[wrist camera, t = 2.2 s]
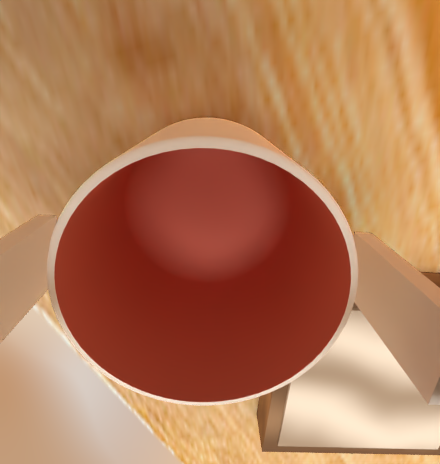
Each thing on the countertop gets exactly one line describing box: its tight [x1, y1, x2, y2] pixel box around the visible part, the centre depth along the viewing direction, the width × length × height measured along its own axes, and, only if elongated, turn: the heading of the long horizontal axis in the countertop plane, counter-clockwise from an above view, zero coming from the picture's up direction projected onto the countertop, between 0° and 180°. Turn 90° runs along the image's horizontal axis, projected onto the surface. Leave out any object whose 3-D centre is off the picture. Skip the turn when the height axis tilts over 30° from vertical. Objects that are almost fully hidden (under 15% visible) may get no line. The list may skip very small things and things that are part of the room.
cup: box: [47, 117, 358, 405], centre depth 15 cm, size 10×10×10 cm
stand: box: [257, 272, 440, 455], centre depth 23 cm, size 14×14×3 cm
